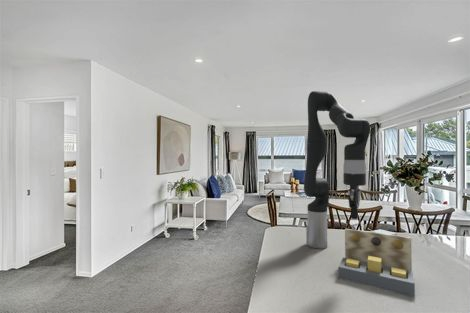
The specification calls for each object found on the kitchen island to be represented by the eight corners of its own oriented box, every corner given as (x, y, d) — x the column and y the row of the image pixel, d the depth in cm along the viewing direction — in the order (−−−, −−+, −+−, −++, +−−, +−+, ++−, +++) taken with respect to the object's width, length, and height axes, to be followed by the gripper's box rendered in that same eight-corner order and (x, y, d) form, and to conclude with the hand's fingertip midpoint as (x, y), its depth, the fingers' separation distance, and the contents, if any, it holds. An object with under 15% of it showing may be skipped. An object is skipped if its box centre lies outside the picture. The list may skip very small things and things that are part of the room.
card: (345, 263, 99) (344, 229, 100) (346, 260, 103) (346, 226, 103) (411, 277, 87) (411, 238, 88) (411, 273, 91) (410, 235, 91)
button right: (391, 286, 81) (391, 271, 81) (391, 281, 84) (391, 267, 85) (406, 290, 79) (406, 274, 79) (405, 284, 82) (405, 269, 82)
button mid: (367, 274, 85) (367, 259, 85) (368, 269, 88) (368, 255, 88) (381, 277, 83) (380, 262, 83) (381, 272, 86) (381, 258, 86)
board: (338, 278, 87) (338, 266, 87) (343, 267, 96) (343, 257, 96) (414, 296, 75) (414, 283, 75) (412, 282, 84) (412, 271, 84)
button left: (345, 275, 89) (345, 262, 89) (347, 271, 92) (347, 258, 92) (358, 278, 87) (358, 264, 87) (359, 274, 90) (359, 260, 90)
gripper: (346, 171, 99) (346, 213, 99) (340, 172, 88) (340, 220, 88) (367, 171, 95) (367, 216, 95) (363, 173, 84) (363, 224, 84)
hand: (354, 218), depth 91 cm, fingers closed
